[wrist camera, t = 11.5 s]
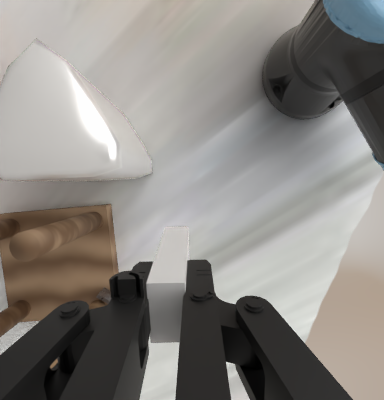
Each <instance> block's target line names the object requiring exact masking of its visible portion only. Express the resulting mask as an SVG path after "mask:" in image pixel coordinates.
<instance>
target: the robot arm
mask: <svg viewBox="0 0 384 400" xmlns="http://www.w3.org/2000/svg"><path fill="white" fill-rule="evenodd" d="M263 85H264V89H265V92H266V95H267V97H268V98H269V100H270V102H271V103H272V104H273V105H274V106H275V107H276V108H277V109H278V110H279V111H281V112H282V113H284V114H286V115H288V116H290V117H293V118H298V119H310V118H315V117H318V116H321V115H323V114H325V113H327V112H329V111H330V110H332V109H334V108H335V107H336V106H338V105H339V104H340V103H341V102H342V101H344V103H345V105H346V106H347V108H348V110H349V112H350V113H351V115H352V117H353V119H354V120H355V122H356V124H357V125H358V127H359V129H360V131H361V132H362V134H363V136H364V138H365V139H366V141H367V143H368V145H369V146H370V148H371V150H372V151H373V153H372V155H373V158H374V160H375V161H376V162H377V163H378V164H379V165H381V167H382V168H383V170H384V0H315V2H314V3H313V5H312V6H311V8H310V9H309V11H308V12H307V14H306V16H305V17H304V19H303V20H302V22H301V23H300V24H299V25H298V26H296V27H294V28H292V29H290V30H289V31H287V32H286V33H284V34H283V35H282V36H281V37H280V38H279V39H278V40H277V41H276V43H275V44H274V45H273V47H272V49H271V50H270V52H269V54H268V56H267V58H266V60H265V63H264V67H263ZM109 285H110V293H111V300H110V302H109V303H108V305H106V306H102V307H99V308H94V309H90V310H89V305H88V304H87V302H84V301H81V300H75V301H69V302H67V303H64V304H62V305H60V306H58V307H57V308H55V309H54V310H53V311H52V312H51V313H49V314H48V315H47V316H46V317H45V318H44V319H42V320H41V321H40V322H39V323H38V324H36V325H35V326H34V327H33V328H32V329H31V330H29V331H28V332H27V333H26V334H25V335H23V336H22V337H21V338H20V339H19V340H18V341H16V342H15V343H14V344H13V345H12V346H10V347H9V348H8V349H7V350H6V351H5V352H3V353H2V354H1V355H0V400H139V398H140V393H141V388H142V384H143V379H144V374H145V369H146V364H147V359H148V355H149V347H148V340H149V336H150V339H151V343H162V342H180V345H179V359H178V373H177V386H176V400H231V396H230V389H229V382H228V375H227V367H226V362H230V363H233V364H235V366H236V370H237V372H238V374H239V377H240V379H241V381H242V383H243V385H244V387H245V390H246V392H247V394H248V396H249V398H250V400H353V399H352V398H351V397H350V396H349V395H348V393H347V392H346V391H345V390H344V389H343V387H342V386H341V385H340V384H339V383H338V382H337V381H336V379H335V378H334V377H333V376H332V375H331V374H330V372H329V371H328V370H327V369H326V368H325V367H324V366H323V364H322V363H321V362H320V361H319V360H318V358H317V357H316V356H315V355H314V354H313V353H312V351H311V350H310V349H309V348H308V347H307V346H306V344H305V343H304V342H303V341H302V340H301V339H300V337H299V336H298V335H297V334H296V333H295V332H294V330H293V329H292V328H291V327H290V326H289V325H288V323H287V322H286V321H285V320H284V319H283V318H282V317H281V315H280V314H279V313H278V312H277V311H276V310H275V308H274V307H273V306H272V305H271V304H270V303H269V302H268V301H267V300H265V299H263V298H261V297H257V296H245V297H242V298H240V299H239V300H238V301H237V302H236V305H235V304H230V303H227V302H224V301H222V300H220V299H219V298H218V297H217V296H216V294H215V292H214V285H213V278H212V271H211V264H210V263H209V262H208V261H207V260H189V232H188V226H182V227H165V228H164V231H163V234H162V237H161V240H160V243H159V246H158V249H157V252H156V255H155V258H154V261H153V262H139V263H138V264H136V265H135V266H134V267H133V269H132V271H124V272H120V273H117V274H115V275H114V276H112V277H111V278H110V279H109ZM56 359H57V361H58V363H57V364H56V365H55V366H54V367H53V368H50V366H51V365H52V363H53V362H54V361H55V360H56Z"/></svg>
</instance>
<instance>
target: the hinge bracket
mask: <svg viewBox="0 0 384 400" xmlns="http://www.w3.org/2000/svg"><path fill="white" fill-rule="evenodd" d="M96 298H98V299H100V300H102V301H103V302H105V303H107V304H108V303H109V302H110V300H111V293H110V290H109V289H107V288H105V287H104V288H103V289H102V290H101V291H100V293H99V294H98V295H97V297H96Z"/></svg>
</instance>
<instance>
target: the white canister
mask: <svg viewBox="0 0 384 400" xmlns="http://www.w3.org/2000/svg"><path fill="white" fill-rule="evenodd" d="M149 174H152V159H151V157H150V155H149V153H148V152H147V150H146V148H145V146H144V145H143V143H142V141H141V139H140V138H139V136H138V135H137V133H136V132H135V130H134V129H133V127H132V125H131V124H130V122H129V121H128V119H127V118H126V116H125V115H124V113H123V112H121V111H120V110H119V109H118V108H117V107H116V106H115V105H114V104H113V103H112V102H111V101H110V100H109V99H108V98H106V97H105V96H104V95H103V94H102V93H101V92H100V91H99V90H98V89H97V88H96V87H95V86H94V85H93V84H92V83H90V82H89V81H88V80H87V79H86V78H85V77H84V76H83V75H82V74H81V73H80V72H79V71H78V70H77V69H75V68H74V67H73V66H72V65H71V64H70V63H69V62H68V61H67V60H65V59H64V58H62V57H61V56H60V55H58V54H57V53H56V52H54V51H53V50H52V49H50V48H49V47H48V46H46V45H45V44H44V43H42V42H41V41H40V40H38V39H37V38H36V39H35V40H34V41H33V42H32V43H31V44H30V45H29V46H28V47H27V48H26V49H25V50H24V51H23V52H22V53H21V54H20V55H19V56H18V57H17V58H16V59H15V60H14V61H13V62H12V63H11V64H10V65H9V66H8V68H7V70H6V73H5V75H4V78H3V81H2V83H1V86H0V179H1V180H5V181H100V180H120V179H137V178H140V177H143V176H146V175H149Z"/></svg>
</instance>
